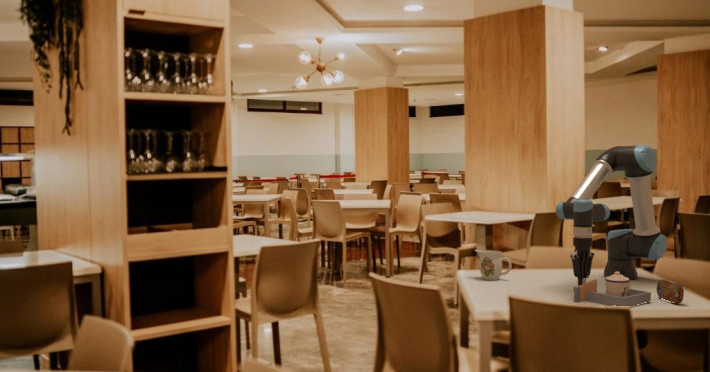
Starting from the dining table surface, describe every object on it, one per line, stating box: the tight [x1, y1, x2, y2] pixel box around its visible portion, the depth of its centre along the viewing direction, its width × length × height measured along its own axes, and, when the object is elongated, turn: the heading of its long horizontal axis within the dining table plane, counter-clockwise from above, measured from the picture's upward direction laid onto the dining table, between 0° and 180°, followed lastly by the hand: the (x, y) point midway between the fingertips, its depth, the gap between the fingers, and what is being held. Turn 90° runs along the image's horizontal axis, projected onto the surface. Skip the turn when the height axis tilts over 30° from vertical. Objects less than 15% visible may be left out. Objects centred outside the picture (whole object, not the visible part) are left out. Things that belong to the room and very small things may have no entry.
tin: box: [656, 279, 685, 304], centre depth 254 cm, size 15×3×8 cm, turn 5°
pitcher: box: [474, 249, 512, 281], centre depth 306 cm, size 11×18×14 cm, turn 62°
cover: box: [577, 278, 598, 303], centre depth 264 cm, size 19×1×6 cm, turn 140°
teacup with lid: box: [605, 272, 631, 297], centre depth 255 cm, size 12×9×12 cm
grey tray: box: [573, 286, 652, 307], centre depth 255 cm, size 23×19×6 cm
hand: (581, 293), depth 264 cm, fingers closed
